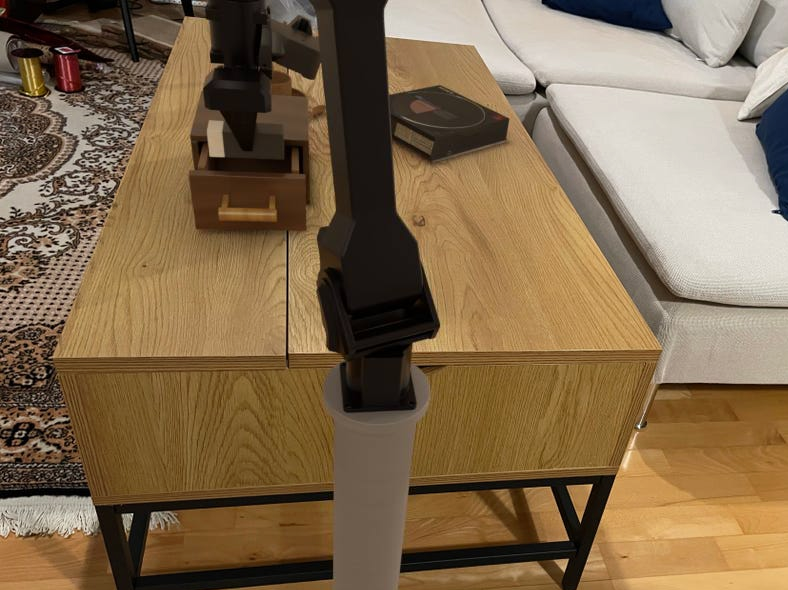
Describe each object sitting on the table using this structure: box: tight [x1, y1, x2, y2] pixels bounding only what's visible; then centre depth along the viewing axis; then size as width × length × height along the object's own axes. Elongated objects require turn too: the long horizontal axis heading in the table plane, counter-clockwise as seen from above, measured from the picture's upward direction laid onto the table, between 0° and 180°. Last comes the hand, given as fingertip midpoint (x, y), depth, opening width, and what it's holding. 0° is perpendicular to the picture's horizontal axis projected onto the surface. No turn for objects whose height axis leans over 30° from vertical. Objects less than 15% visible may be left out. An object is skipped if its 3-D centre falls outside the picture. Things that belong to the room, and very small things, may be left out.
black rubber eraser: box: [207, 120, 284, 160], centre depth 79 cm, size 3×8×3 cm, turn 102°
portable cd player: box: [389, 84, 510, 164], centre depth 113 cm, size 16×17×4 cm
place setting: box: [271, 62, 326, 121], centre depth 115 cm, size 18×20×6 cm
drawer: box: [188, 142, 308, 232], centre depth 84 cm, size 18×12×7 cm
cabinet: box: [189, 90, 311, 205], centre depth 92 cm, size 15×14×9 cm
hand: (247, 144), depth 80 cm, fingers closed on black rubber eraser, 3 cm apart
